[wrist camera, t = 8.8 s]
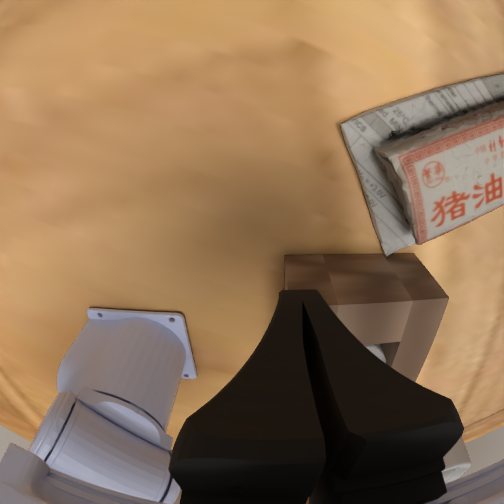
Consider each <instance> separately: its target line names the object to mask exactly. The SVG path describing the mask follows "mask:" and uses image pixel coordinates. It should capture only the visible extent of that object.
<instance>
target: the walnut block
mask: <svg viewBox="0 0 504 504" xmlns="http://www.w3.org/2000/svg"><path fill="white" fill-rule="evenodd" d="M302 289H317V290H318V291H319V293H320V294H321V296H322V297H323V298H324V300H325V301H326V303H327V304H328V305H329V307H330V308H331V309H332V311H333V312H334V313H335V314H336V316H337V317H338V318H339V319H340V320H341V322H342V323H343V324H344V325H345V326H346V327H347V328H348V330H349V331H350V332H351V333H352V334H353V335H354V336H355V337H356V338H357V339H358V340H359V341H360V342H361V343H362V344H363V345H370V344H380V346H381V348H382V351H383V354H384V356H385V359H386V364H387V365H389V366H390V367H392V368H393V369H395V370H396V371H397V372H399V373H401V374H402V375H404V376H405V377H407V378H409V379H410V380H412V381H414V382H415V381H416V379H417V377H418V375H419V373H420V371H421V368H422V366H423V364H424V362H425V359H426V357H427V355H428V353H429V350H430V348H431V345H432V343H433V340H434V338H435V335H436V333H437V330H438V328H439V325H440V322H441V320H442V317H443V314H444V311H445V309H446V306H447V303H448V300H449V297H448V296H447V294H446V293H445V292H444V290H443V289H442V288H441V286H440V285H439V284H438V283H437V281H436V280H435V279H434V277H433V276H432V275H431V274H430V272H429V271H428V270H427V269H426V268H425V266H424V265H423V264H422V263H421V261H420V260H419V259H418V258H417V257H416V255H415V254H414V253H403V254H390V255H388V256H386V255H385V254H337V255H285V262H284V290H302Z"/></svg>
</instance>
